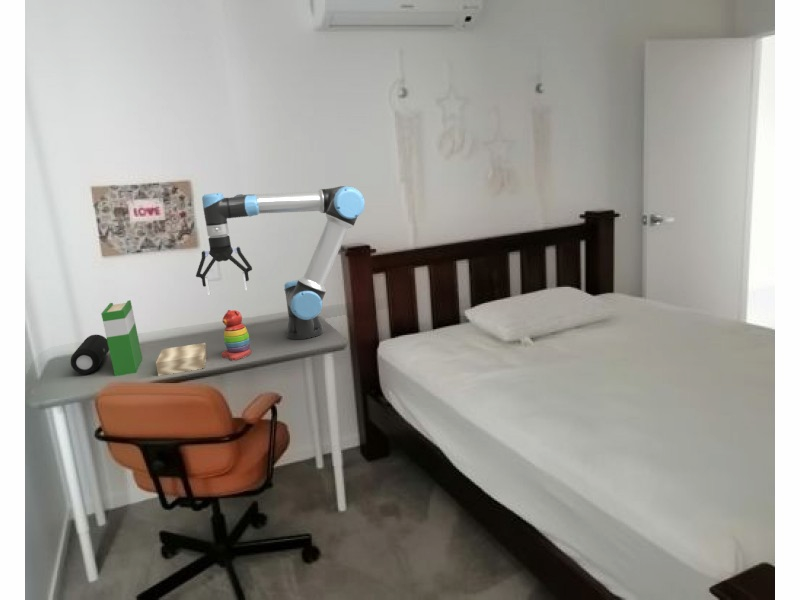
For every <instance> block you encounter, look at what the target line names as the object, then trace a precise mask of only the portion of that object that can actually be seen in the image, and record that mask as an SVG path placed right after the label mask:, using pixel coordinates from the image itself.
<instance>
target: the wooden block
mask: <svg viewBox="0 0 800 600" xmlns="http://www.w3.org/2000/svg"><path fill="white" fill-rule="evenodd" d="M207 354H208V349H207V344H206V342H201V343H194V344H187V345H182V346H174V347H168V348H162V350H160V353H159V356H158V358H157V360H156V361H155V366H156V372H157V377H160V375H161V376H167V375H174V374H179V373H185V371H186V372H191V370H192V371H197V369H199V370H203V369H202V368H204V367H205V366H206V364H205V362H206V363H207V359H206V358H208V355H207ZM204 369H205V368H204ZM173 373H174V374H173ZM166 374H167V375H166Z"/></svg>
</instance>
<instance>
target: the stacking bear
mask: <svg viewBox="0 0 800 600" xmlns="http://www.w3.org/2000/svg"><path fill="white" fill-rule="evenodd" d="M242 321H243V316H242V314H241V312H239V311H238V310H231V309H228V310H227V311H226V312H225V314H224V316H223V318H222V323H223V324H224V326H225V327H224V332H223V335H224V336H223V341H224V345H225V347H226V350H225V351H222V353H221V358H227V357H228V359H229V361H231V360H235V361H238V360H237V359H239V360H241V359H240V358H242V359H244V358H243V357H245V356H247V355H248V356H250V355H251V354H252V350H251V349H250V335H249V332H248V329H247V327H246V326H245V324H243V323H242ZM250 353H251V354H250ZM249 354H250V355H249ZM248 356H247V357H248ZM245 358H246V357H245Z"/></svg>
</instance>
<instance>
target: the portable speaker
mask: <svg viewBox="0 0 800 600" xmlns="http://www.w3.org/2000/svg"><path fill="white" fill-rule="evenodd" d="M109 352H110V351H109V347H108V342H107V338H106V336H103V335H101V334H91V335H89V336H88V337H86V338H85V339H84V340H83V342H82V343H81V344H80V345H79V346H78V347H77V349H76V350H75V351H74V353H72V354H71V357H70V365H71V368H72V369H73V370H74V371H75V372H76V373H79V374H81V375H88V374H92V373H93V372H95V371H96V370H97V369H98V368H99V366H100V364H101V363H102V361H103V360H104V359H105V357H106V356H107V354H108V353H109Z"/></svg>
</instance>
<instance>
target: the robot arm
mask: <svg viewBox="0 0 800 600" xmlns="http://www.w3.org/2000/svg"><path fill="white" fill-rule="evenodd" d="M201 200H202V208H203V215H204V220H205V225H206V227H205V228H206V231H207V237H208V239H207V240H208V244H209V245H208V246H209V250H206V251H205V250H202V251H201V259H200V262H199V265H198V268H197V270H196V274H195V277H196V278H200V279H201V282H202V286H203V287H205V288H206V293H207V296H210V295H211V291H210V285H209V278H208V276H207V274H208V272H209V271H210V270H211V268H212V266H214V263H215V262H218V263H219V262H227V261H228V260H229V261H231V262H232V263H233V264H234V265H235V266H237V268H238V269H240V270H242V278H243V279H242V280H243V285H244V290H245V292H246V291H248V284H247V282H249V280H250V278H249V272H251V271H252V270H253V266H252V265H251V264H250V262H249V261H248V260H247V258H246V257H245V256H244V254H243V253H242V251H241V247H240V246H237V247H232V244H231V237H230V234H229V233H230V232H229V224H228V221H227V220H228V219H234V218H244V217H249V218H250V217H253V216H258V215H259V214H277V213H280V214H281V213H298V212H299V213H300V212H301V213H303V212H320V213H321V214H325V217H326V219H327V220H326V223H325V226H324V228H323V230H322V233H321V235H320V238H319V239H318V242H317V244H316V247H315V249H314V252H313V254H312V256H311V259H310V261H309V264H308V266H307V268H306V271H305V273H304V276H303V277H301V278H298V279H296V280H292V281H291V280H290V281H286V282H284V285H283V286H284V292H285V300H286V306H287V308H286V309H287V314H288V321H287V326H286V336H287V338H288V339H289V340H290V339H291V340H305V339H306V338H307V339H312V338H315V336H316V337H318V336H320V335H322V334H323V333H324V326H323V324H322V322H321V320H320V318H319V315H320V313H321V312H322V308H323V299H324V297H325V294H326V292H327V290H326V286H325V285H326V283H327V280H328V278H329V275H330V273H331V270H332V268H333V265H334V263H335V261H336V259H337V256H338V254H339V251H340V249H341V247H342V244H343V242H344V240H345V237H346V234H347V233H348V231H349V229H351V228H353V227H354V226H355V223H356V221H357V219H358V217H360V215H361V214H362V213H363V212H364V209H365V206H366V205H365V204H366V203H365V198H364V195H363V194H362V193H361V191H359V190H358V189H357V188H355V187H353V186H346V185H344V186H343V185H342V186H341V185H340V186H337V187H336V186H335V187H330V188H320V189H319V190H318V191H303V192H285V193H283V192H281V193H257V194H256V193H254V194H242V193H241V194H239V193H238V194H236V195H234V196H232V197H225V196H224V194H223V193H222V192H216V193H214V192H213V193H206V194H203V195H202V198H201ZM233 253H235V254H237V255H238V257H239V258H240V259H241V261H242V262H243V264H244V265H245V266H244V265H243V264H242V263H241V262H240V261H238V260H237V259H236V258H235V257H234V256H233ZM209 256H211V257H212V258H211V260H210V262H209V264H208V265H207V267H206V268H205V269H204V271H203V272H202V269H203V266H204V264H205V261H206V258H208V257H209ZM311 337H312V338H311Z"/></svg>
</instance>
